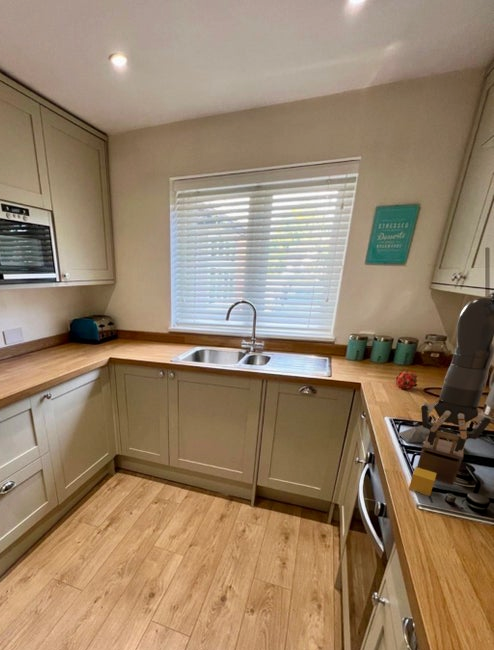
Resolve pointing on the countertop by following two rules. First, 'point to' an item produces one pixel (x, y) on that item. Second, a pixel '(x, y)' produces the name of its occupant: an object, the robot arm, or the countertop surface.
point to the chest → (440, 466)
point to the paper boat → (415, 434)
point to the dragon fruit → (406, 380)
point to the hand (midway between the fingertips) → (443, 446)
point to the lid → (444, 445)
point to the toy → (422, 481)
